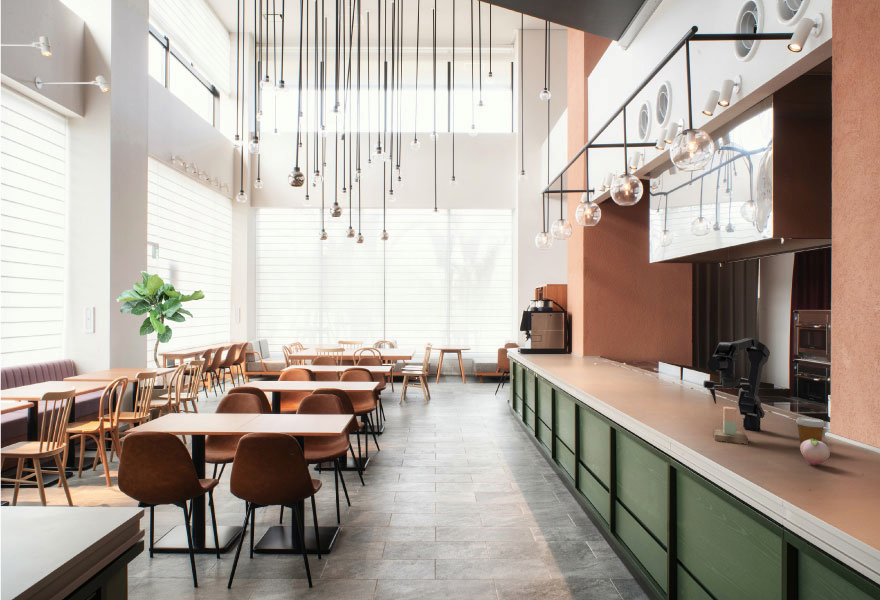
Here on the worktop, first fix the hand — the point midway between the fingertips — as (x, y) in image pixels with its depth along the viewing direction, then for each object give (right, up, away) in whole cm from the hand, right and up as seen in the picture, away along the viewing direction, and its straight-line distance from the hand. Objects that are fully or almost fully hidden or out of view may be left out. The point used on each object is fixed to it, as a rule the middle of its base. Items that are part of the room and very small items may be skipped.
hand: (726, 404), depth 227 cm
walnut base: (-5, -13, -10) cm, 17 cm away
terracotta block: (-5, -5, -10) cm, 12 cm away
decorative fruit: (+6, -13, -46) cm, 48 cm away
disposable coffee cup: (+20, -13, -24) cm, 34 cm away
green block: (-5, -10, -10) cm, 15 cm away
